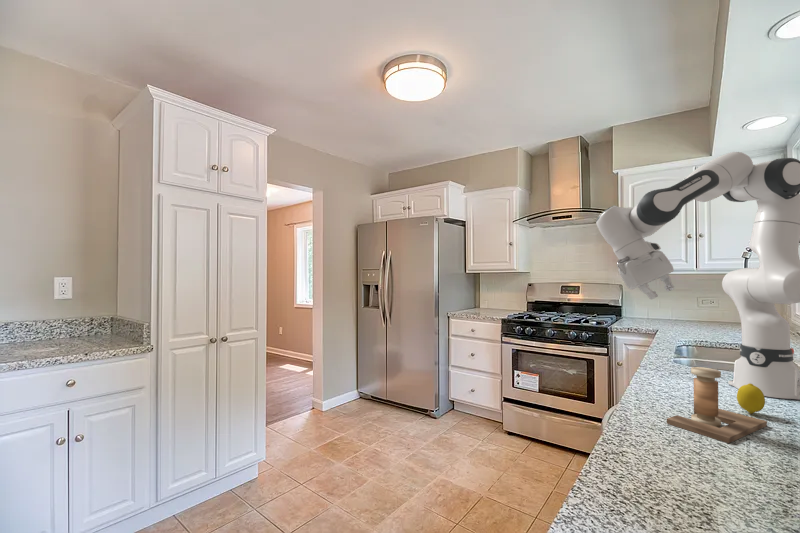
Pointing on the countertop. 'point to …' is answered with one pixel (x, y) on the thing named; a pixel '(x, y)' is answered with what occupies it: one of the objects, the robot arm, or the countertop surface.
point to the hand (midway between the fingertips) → (663, 294)
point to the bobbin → (706, 396)
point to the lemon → (750, 398)
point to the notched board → (729, 433)
